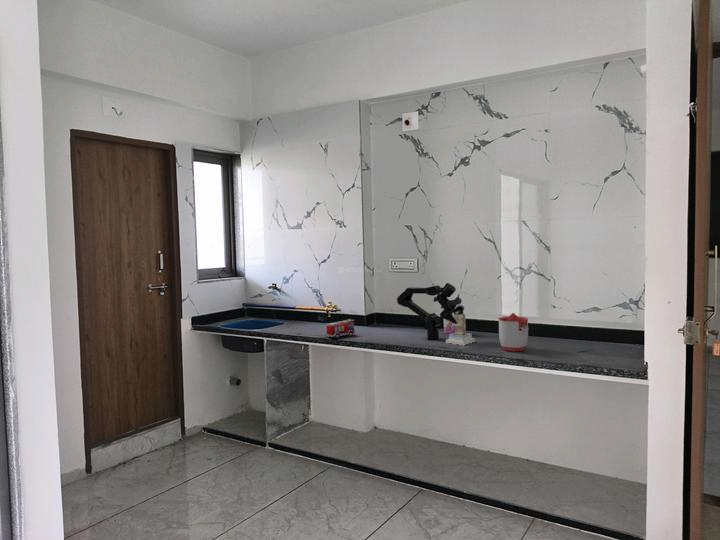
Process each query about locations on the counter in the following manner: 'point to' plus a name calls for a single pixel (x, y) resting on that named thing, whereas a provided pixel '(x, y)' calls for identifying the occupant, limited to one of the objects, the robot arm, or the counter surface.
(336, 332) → the toy fire truck
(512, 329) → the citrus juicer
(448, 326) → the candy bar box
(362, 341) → the counter surface
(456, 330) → the birch block
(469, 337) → the tower base
